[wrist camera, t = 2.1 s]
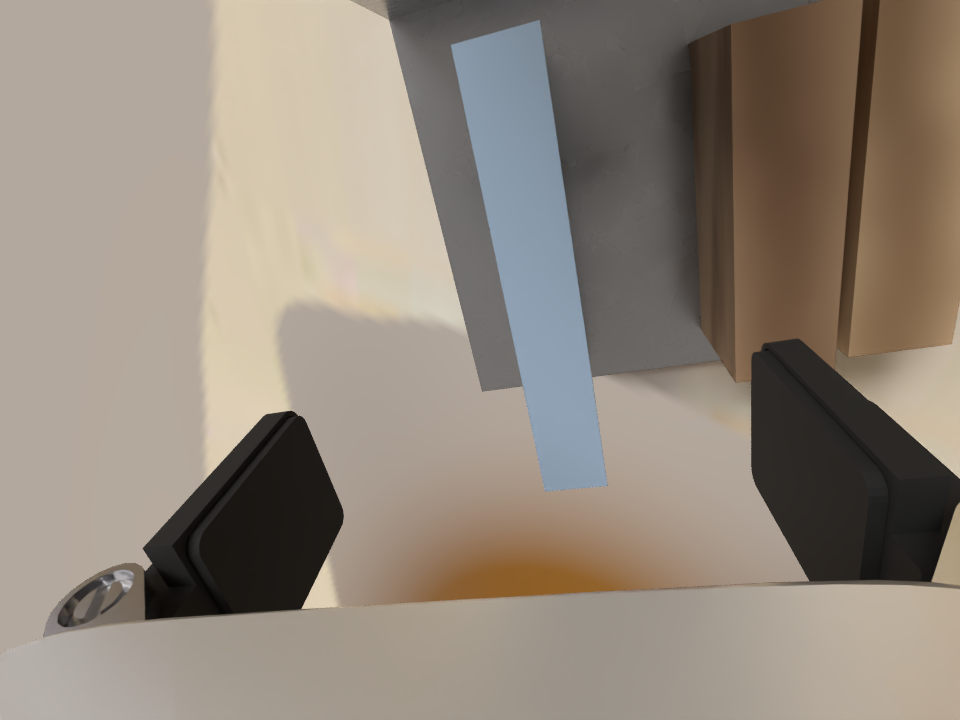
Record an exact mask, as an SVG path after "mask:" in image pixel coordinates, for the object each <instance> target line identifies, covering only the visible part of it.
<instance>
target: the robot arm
mask: <svg viewBox="0 0 960 720" xmlns="http://www.w3.org/2000/svg"><path fill="white" fill-rule="evenodd" d="M751 467H752V475H753V479H754V482H755V485H756V487H757V488H758V490H759V492H760V494H761V496H762V497H763V499H764V501H765V503H766V505H767V506H768V508H769V510H770V512H771V513H772V515H773V517H774V519H775V521H776V522H777V524H778V526H779V527H780V529H781V531H782V533H783V535H784V536H785V538H786V540H787V542H788V544H789V545H790V547H791V549H792V551H793V552H794V554H795V556H796V558H797V560H798V561H799V563H800V565H801V567H802V568H803V570H804V572H805V574H806V576H807V577H808V579H809V581H810V582H771V583H754V584H753V583H752V584H734V585H715V586H697V587H680V588H679V587H678V588H659V589H641V590H622V591H605V592H586V593H568V594H552V595H534V596H517V597H500V598H483V599H466V600H449V601H431V602H414V603H398V604H382V605H365V606H348V607H331V608H315V609H301V608H302V606H303V604H304V602H305V600H306V598H307V596H308V594H309V592H310V590H311V588H312V586H313V584H314V582H315V580H316V578H317V576H318V574H319V571H320V569H321V567H322V565H323V563H324V561H325V559H326V557H327V555H328V553H329V551H330V549H331V547H332V545H333V543H334V541H335V538H336V537H337V534H338V532H339V530H340V528H341V526H342V524H343V518H344V514H343V509H342V506H341V504H340V501H339V499H338V497H337V494H336V492H335V489H334V487H333V485H332V482H331V480H330V477H329V475H328V473H327V470H326V468H325V466H324V463H323V461H322V459H321V456H320V454H319V451H318V449H317V447H316V444H315V442H314V440H313V437H312V435H311V432H310V430H309V428H308V425H307V423H306V421H305V419H304V418H303V417H301V416H298V415H297V414H296V413H295V412H293V411H286V412H279V413H272V414H266V415H265V416H263V417H262V419H261V420H260V421H259V422H258V423H257V424H256V425H255V426H254V427H253V428H252V430H251V431H250V432H249V433H248V434H247V435H246V436H245V437H244V438H243V439H242V440H241V442H240V443H239V444H238V445H237V446H236V447H235V448H234V449H233V450H232V451H231V452H230V454H229V455H228V456H227V457H226V458H225V459H224V460H223V461H222V462H221V463H220V464H219V466H218V467H217V468H216V469H215V470H214V471H213V472H212V473H211V474H210V475H209V476H208V478H207V479H206V480H205V481H204V482H203V483H202V484H201V485H200V486H199V487H198V489H197V490H196V491H195V492H194V493H193V494H192V495H191V496H190V497H189V498H188V499H187V500H186V502H185V503H184V504H183V505H182V506H181V507H180V508H179V509H178V510H177V511H176V513H175V514H174V515H173V516H172V517H171V518H170V519H169V520H168V521H167V522H166V523H165V525H164V526H163V527H162V528H161V529H160V530H159V531H158V532H157V533H156V535H154V537H153V538H152V539H151V540H150V541H149V542H148V543H147V544H146V545H145V546H144V547H143V550H144V551H145V553H146V554H147V556H148V557H149V559H150V560H151V562H152V565H151V566H150V567H149V568H148V570H146V571H145V570H144V569H143V567H142V566H140V565H138V564H136V563H124V564H121V565H117V566H113V567H111V568H108V569H106V570H103V571H101V572H99V573H97V574H96V575H94V576H92V577H90V578H89V579H87V580H85V581H84V582H82V583H81V584H80V585H78V586H77V587H76V588H74V589H73V590H72V591H70V592H69V593H68V594H67V595H66V596H65V597H64V598H63V599H62V600H61V601H60V602H59V603H58V604H57V606H56V607H55V608H54V609H53V611H52V612H51V614H50V616H49V618H48V621H47V623H46V626H45V631H44V635H43V638H41V639H37V640H33V641H30V642H28V643H25V644H22V645H19V646H17V647H14V648H12V649H9V650H7V651H4V652H2V653H0V720H960V479H959V478H958V477H957V476H956V475H955V474H954V473H953V472H951V471H950V470H949V469H948V468H947V467H946V466H945V465H944V464H942V463H941V462H940V461H939V460H938V459H937V458H936V457H935V456H933V455H932V454H931V453H930V452H929V451H928V450H927V449H926V448H924V447H923V446H922V445H921V444H920V443H919V442H918V441H917V440H915V439H914V438H913V437H912V436H911V435H910V434H909V433H908V432H906V431H905V430H904V429H903V428H902V427H901V426H900V425H899V424H897V423H896V422H895V421H894V420H893V419H892V418H891V417H890V416H888V415H887V414H886V413H885V412H884V411H883V410H882V409H881V408H879V407H878V406H877V405H876V404H874V403H873V402H871V401H869V400H867V399H866V398H865V397H864V396H863V395H862V394H861V393H860V392H858V391H857V390H856V389H855V388H854V387H853V386H852V385H851V384H850V383H848V382H847V381H846V380H845V379H844V378H843V377H842V376H841V375H840V374H838V373H837V372H836V371H835V370H834V369H833V368H832V367H831V366H829V365H828V364H827V363H826V362H825V361H824V360H823V359H822V358H821V357H819V356H818V355H817V354H816V353H815V352H814V351H813V350H812V349H811V348H809V347H808V346H807V345H806V344H805V343H804V342H803V341H802V340H800V339H798V338H797V339H790V340H783V341H776V342H769V343H764V344H763V345H762V348H761V351H759V352H754V353H753V354H752V358H751Z"/></svg>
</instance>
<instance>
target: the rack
mask: <svg viewBox="0 0 960 720" xmlns="http://www.w3.org/2000/svg"><path fill="white" fill-rule="evenodd" d="M351 1H353V2H355V3H357V4H359V5H361V6H363V7H365V8H367V9H369V10H371V11H373V12H375V13H377V14H379V15H381V16H383V17H384V18H386V19H388V20H389V21H390V25H391V29H392V33H393V37H394V41H395V45H396V49H397V53H398V57H399V61H400V65H401V69H402V73H403V77H404V81H405V85H406V89H407V93H408V97H409V101H410V105H411V109H412V113H413V117H414V121H415V125H416V129H417V133H418V137H419V141H420V145H421V149H422V153H423V157H424V161H425V165H426V169H427V173H428V177H429V181H430V185H431V189H432V193H433V197H434V201H435V205H436V209H437V213H438V217H439V221H440V225H441V229H442V233H443V237H444V241H445V245H446V249H447V253H448V257H449V261H450V265H451V269H452V273H453V277H454V281H455V285H456V289H457V293H458V297H459V301H460V305H461V309H462V313H463V317H464V321H465V325H466V329H467V333H468V337H469V341H470V345H471V349H472V353H473V357H474V360H475V365H476V369H477V373H478V377H479V381H480V384H481V389H482V391H489V390H497V389H505V388H512V387H520V386H523V384H522V380H521V375H520V370H519V365H518V361H517V356H516V351H515V346H514V342H513V337H512V332H511V328H510V323H509V318H508V313H507V309H506V304H505V299H504V294H503V290H502V285H501V280H500V275H499V271H498V266H497V261H496V257H495V252H494V247H493V242H492V238H491V233H490V228H489V223H488V219H487V214H486V209H485V204H484V200H483V195H482V190H481V186H480V181H479V176H478V171H477V167H476V162H475V157H474V152H473V148H472V143H471V138H470V133H469V129H468V124H467V119H466V115H465V110H464V105H463V100H462V96H461V91H460V86H459V81H458V77H457V72H456V67H455V62H454V58H453V53H452V48H451V45H452V44H456V43H459V42H463V41H466V40H470V39H474V38H477V37H481V36H484V35H488V34H491V33H495V32H498V31H502V30H506V29H509V28H513V27H516V26H520V25H523V24H527V23H531V22H534V21H538V20H540V26H541V32H542V39H543V45H544V52H545V59H546V65H547V72H548V79H549V86H550V93H551V100H552V107H553V113H554V120H555V127H556V134H557V141H558V148H559V155H560V161H561V168H562V175H563V182H564V189H565V196H566V203H567V209H568V216H569V223H570V230H571V237H572V244H573V251H574V257H575V264H576V271H577V278H578V285H579V292H580V299H581V305H582V312H583V319H584V326H585V333H586V340H587V347H588V353H589V360H590V367H591V374H592V377H596V376H603V375H611V374H618V373H626V372H633V371H641V370H649V369H656V368H664V367H671V366H679V365H686V364H694V363H701V362H709V361H717V360H721V359H720V358H719V356H718V355H717V353H716V352H715V350H714V349H713V347H712V346H711V344H710V343H709V341H708V340H707V338H706V337H705V335H704V334H703V332H702V330H701V307H700V284H699V261H698V237H697V214H696V191H695V168H694V144H693V121H692V98H691V75H690V51H689V43H690V42H692V41H694V40H697V39H699V38H701V37H703V36H706V35H708V34H710V33H712V32H715V31H717V30H719V29H721V28H724V27H726V26H728V25H730V24H734V23H738V22H741V21H745V20H749V19H753V18H757V17H761V16H765V15H769V14H772V13H776V12H780V11H784V10H788V9H792V8H796V7H799V6H803V5H807V4H811V3H815V2H819V1H823V0H351Z"/></svg>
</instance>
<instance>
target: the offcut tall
mask: <svg viewBox="0 0 960 720" xmlns="http://www.w3.org/2000/svg"><path fill="white" fill-rule="evenodd" d="M862 7H863V0H823V1H819V2H815V3H811V4H807V5H803V6H799V7H796V8H792V9H788V10H784V11H780V12H776V13H772V14H769V15H765V16H761V17H757V18H753V19H749V20H745V21H741V22H738V23H734V24H730V25H728V26H726V27H724V28H721V29H719V30H717V31H715V32H712V33H710V34H708V35H706V36H703V37H701V38H699V39H697V40H694V41H692V42H690V43H689V51H690V75H691V98H692V121H693V144H694V168H695V191H696V214H697V237H698V261H699V284H700V307H701V330H702V332H703V334H704V335H705V337H706V338H707V340H708V341H709V343H710V344H711V346H712V347H713V349H714V350H715V352H716V353H717V355H718V356H719V358H720V359H721V361H722V362H723V364H724V365H725V367H726V369H727V370H728V372H729V373H730V375H731V376H732V378H733V379H734V381H735V382H736V383H737V382H746V381H751V358H752V354H753V353H754V352H759V351H761V348H762V345H763V344H764V343H769V342H776V341H783V340H790V339H797V338H798V339H800V340H802V341H803V342H804V343H805V344H806V345H807V346H808V347H809V348H811V349H812V350H813V351H814V352H815V353H816V354H817V355H818V356H819V357H821V358H822V359H823V360H824V361H825V362H826V363H827V364H828V365H829V366H831V367H832V368H833V369H835V356H836V343H837V330H838V318H839V305H840V292H841V279H842V266H843V253H844V240H845V227H846V214H847V201H848V188H849V175H850V162H851V149H852V136H853V123H854V110H855V97H856V84H857V71H858V59H859V46H860V33H861V20H862Z"/></svg>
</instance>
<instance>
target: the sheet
mask: <svg viewBox="0 0 960 720" xmlns="http://www.w3.org/2000/svg"><path fill="white" fill-rule="evenodd" d="M451 48H452V53H453V58H454V62H455V67H456V72H457V77H458V81H459V86H460V91H461V96H462V100H463V105H464V110H465V115H466V119H467V124H468V129H469V133H470V138H471V143H472V148H473V152H474V157H475V162H476V167H477V171H478V176H479V181H480V186H481V190H482V195H483V200H484V204H485V209H486V214H487V219H488V223H489V228H490V233H491V238H492V242H493V247H494V252H495V257H496V261H497V266H498V271H499V275H500V280H501V285H502V290H503V294H504V299H505V304H506V309H507V313H508V318H509V323H510V328H511V332H512V337H513V342H514V346H515V351H516V356H517V361H518V365H519V370H520V375H521V380H522V384H523V389H524V394H525V399H526V403H527V408H528V412H529V417H530V422H531V427H532V432H533V436H534V441H535V445H536V450H537V455H538V460H539V465H540V470H541V474H542V479H543V484H544V488H545V491H554V490H566V489H578V488H590V487H601V486H608V485H607V479H606V471H605V464H604V457H603V450H602V443H601V437H600V430H599V423H598V416H597V409H596V402H595V395H594V388H593V381H592V374H591V367H590V360H589V353H588V347H587V340H586V333H585V326H584V319H583V312H582V305H581V299H580V292H579V285H578V278H577V271H576V264H575V257H574V251H573V244H572V237H571V230H570V223H569V216H568V209H567V203H566V196H565V189H564V182H563V175H562V168H561V161H560V155H559V148H558V141H557V134H556V127H555V120H554V113H553V107H552V100H551V93H550V86H549V79H548V72H547V65H546V59H545V52H544V45H543V39H542V32H541V26H540V20H538V21H534V22H531V23H527V24H523V25H520V26H516V27H513V28H509V29H506V30H502V31H498V32H495V33H491V34H488V35H484V36H481V37H477V38H474V39H470V40H466V41H463V42H459V43H456V44H452V45H451Z"/></svg>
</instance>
